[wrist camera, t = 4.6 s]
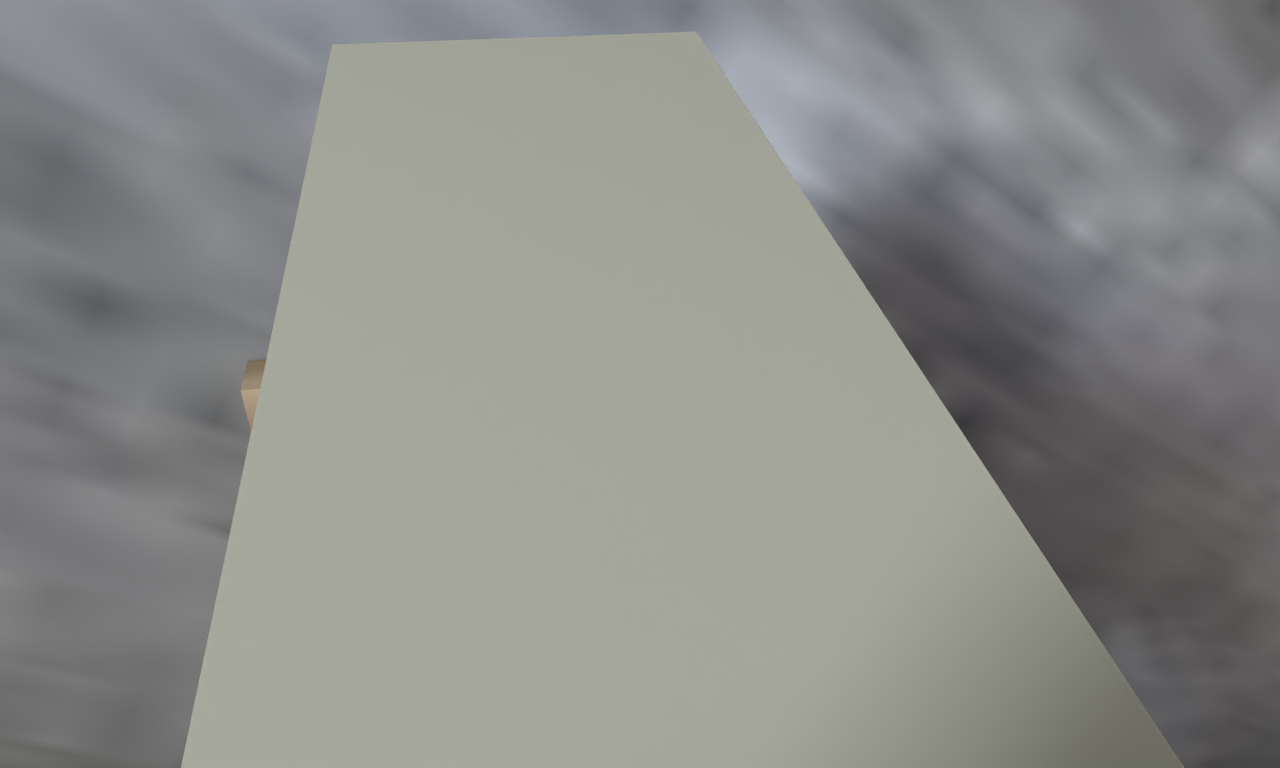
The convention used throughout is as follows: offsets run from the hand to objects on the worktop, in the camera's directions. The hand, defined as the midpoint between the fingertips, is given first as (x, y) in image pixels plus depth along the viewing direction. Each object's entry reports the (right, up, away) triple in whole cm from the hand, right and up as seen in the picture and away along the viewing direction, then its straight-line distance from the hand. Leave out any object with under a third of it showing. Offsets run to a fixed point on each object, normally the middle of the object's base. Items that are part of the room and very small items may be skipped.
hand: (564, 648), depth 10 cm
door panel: (0, +1, +2) cm, 2 cm away
